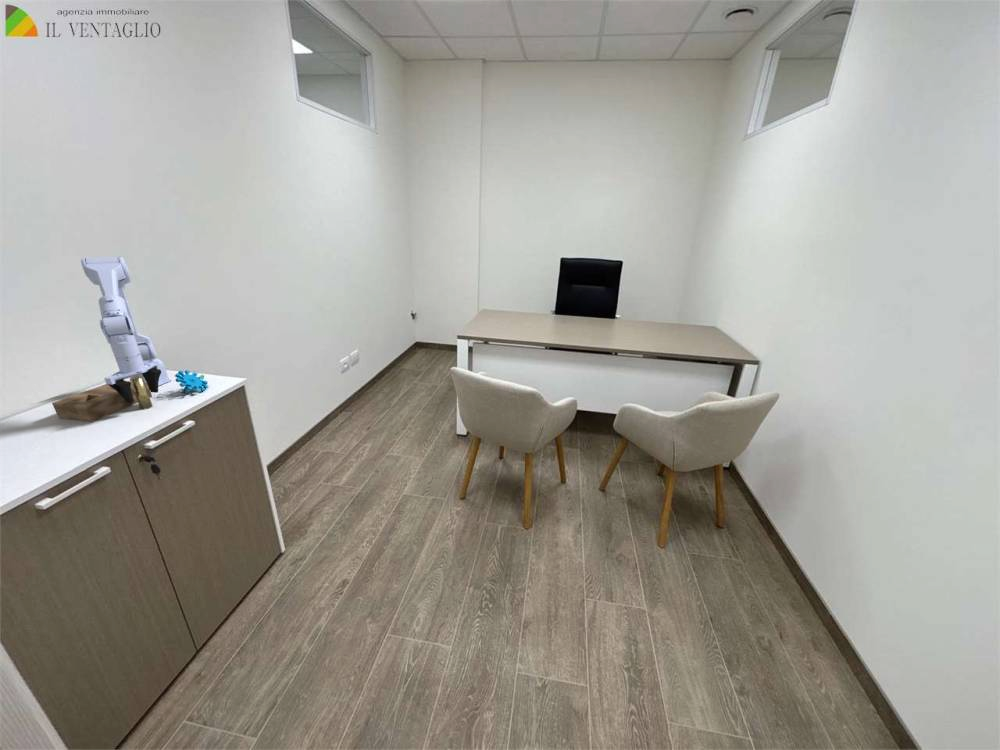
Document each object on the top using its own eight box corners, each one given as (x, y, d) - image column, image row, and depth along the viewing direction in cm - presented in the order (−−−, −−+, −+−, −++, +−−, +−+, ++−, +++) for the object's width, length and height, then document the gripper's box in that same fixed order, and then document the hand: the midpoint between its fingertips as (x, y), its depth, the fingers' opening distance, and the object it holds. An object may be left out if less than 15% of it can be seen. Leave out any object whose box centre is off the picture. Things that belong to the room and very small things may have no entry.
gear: (195, 393, 131) (169, 372, 129) (185, 405, 132) (159, 385, 130) (218, 384, 141) (194, 365, 140) (208, 395, 142) (184, 376, 140)
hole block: (122, 393, 134) (117, 380, 132) (152, 396, 132) (147, 382, 130) (58, 418, 117) (51, 403, 115) (91, 421, 115) (85, 406, 113)
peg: (147, 404, 126) (136, 375, 122) (155, 405, 126) (144, 376, 122) (137, 408, 123) (126, 379, 120) (145, 409, 123) (135, 380, 119)
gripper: (113, 364, 111) (129, 408, 116) (162, 349, 124) (175, 388, 129) (92, 363, 112) (109, 406, 117) (143, 348, 125) (157, 387, 130)
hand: (142, 397), depth 123 cm, fingers open, 7 cm apart
